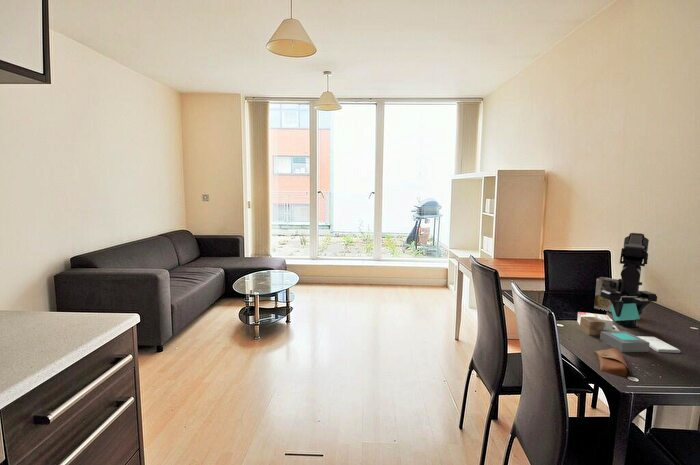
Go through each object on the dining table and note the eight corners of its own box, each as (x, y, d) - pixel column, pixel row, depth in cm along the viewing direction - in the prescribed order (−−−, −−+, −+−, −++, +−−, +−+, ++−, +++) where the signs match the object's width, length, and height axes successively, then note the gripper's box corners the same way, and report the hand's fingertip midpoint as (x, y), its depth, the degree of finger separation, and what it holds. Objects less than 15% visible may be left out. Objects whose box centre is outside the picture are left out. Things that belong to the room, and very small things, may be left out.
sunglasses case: (591, 350, 139) (604, 337, 137) (609, 362, 137) (622, 350, 135) (600, 371, 123) (614, 357, 121) (620, 385, 121) (635, 372, 119)
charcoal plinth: (624, 340, 150) (626, 331, 149) (648, 352, 139) (649, 342, 139) (599, 340, 149) (600, 331, 149) (621, 352, 138) (622, 342, 138)
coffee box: (618, 310, 186) (622, 280, 184) (613, 313, 182) (617, 281, 180) (598, 305, 193) (602, 276, 191) (593, 308, 189) (596, 277, 187)
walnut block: (592, 329, 160) (594, 316, 159) (602, 335, 154) (604, 321, 153) (579, 329, 160) (580, 316, 159) (588, 335, 154) (590, 321, 153)
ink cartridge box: (577, 311, 169) (615, 315, 164) (576, 321, 170) (614, 326, 165) (582, 317, 161) (621, 321, 156) (581, 327, 162) (620, 332, 157)
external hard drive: (657, 353, 139) (634, 339, 151) (680, 353, 139) (655, 340, 151) (658, 349, 139) (634, 335, 151) (680, 349, 138) (655, 336, 151)
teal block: (629, 320, 146) (625, 304, 148) (639, 319, 140) (635, 303, 142) (614, 320, 146) (610, 305, 148) (623, 319, 140) (619, 304, 142)
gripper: (637, 274, 150) (632, 310, 152) (592, 273, 149) (588, 309, 151) (660, 280, 139) (655, 320, 140) (613, 279, 138) (608, 319, 140)
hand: (625, 316), depth 143 cm, fingers closed on teal block, 6 cm apart
